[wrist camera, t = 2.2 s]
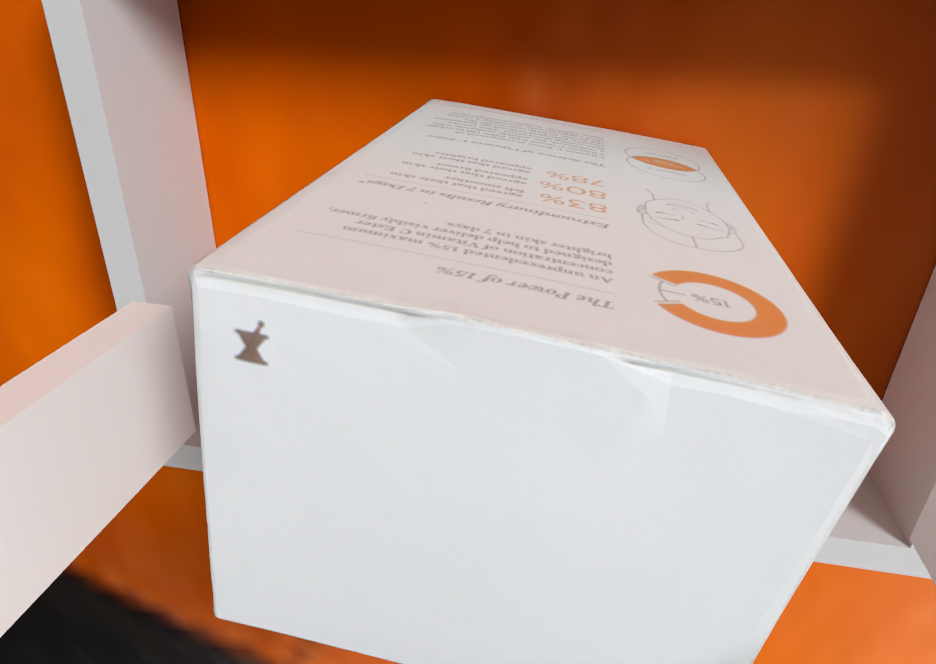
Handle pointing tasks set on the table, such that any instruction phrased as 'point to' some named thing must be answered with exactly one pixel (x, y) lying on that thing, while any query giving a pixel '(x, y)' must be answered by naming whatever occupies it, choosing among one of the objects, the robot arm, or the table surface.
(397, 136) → the small box
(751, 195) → the table surface
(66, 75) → the bin
